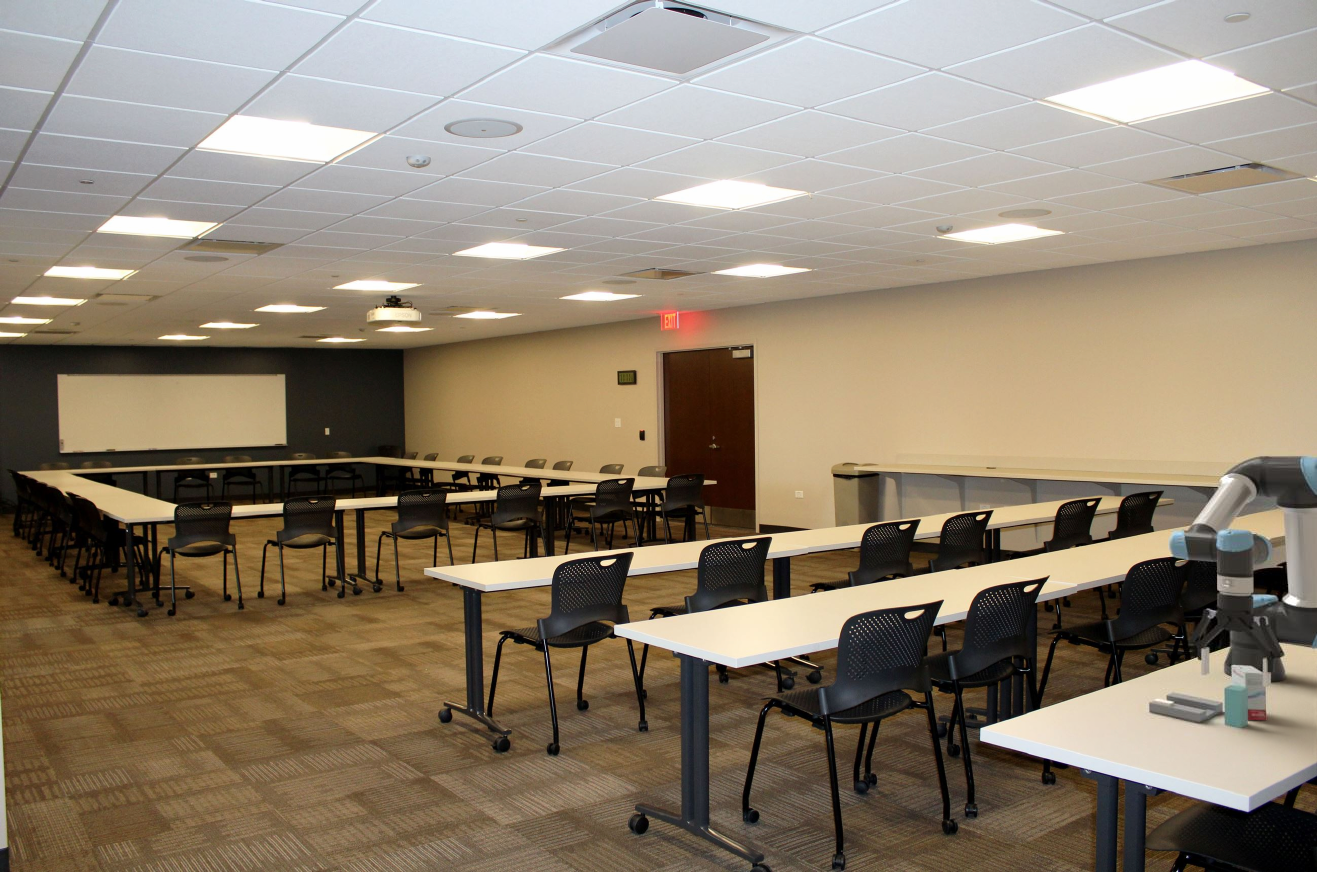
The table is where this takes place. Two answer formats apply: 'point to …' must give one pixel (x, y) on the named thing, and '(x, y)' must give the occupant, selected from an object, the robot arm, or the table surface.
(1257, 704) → the ink box
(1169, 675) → the table surface
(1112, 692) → the table surface
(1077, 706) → the table surface
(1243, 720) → the plug
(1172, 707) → the socket
